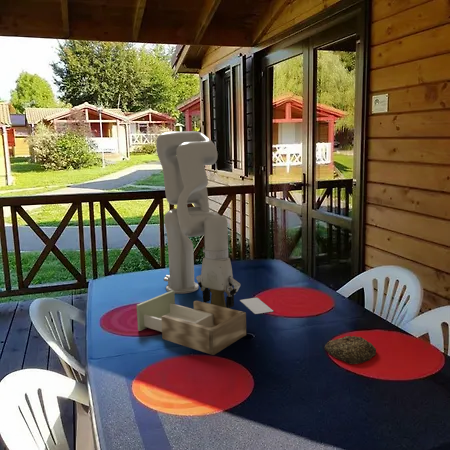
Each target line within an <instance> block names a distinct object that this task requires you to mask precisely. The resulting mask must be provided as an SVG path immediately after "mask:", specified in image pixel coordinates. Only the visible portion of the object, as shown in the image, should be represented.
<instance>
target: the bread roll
mask: <svg viewBox="0 0 450 450" xmlns="http://www.w3.org/2000/svg"><path fill="white" fill-rule="evenodd" d="M324 350H325V351H326V352H327V353H328V354H329V355H330V356H332V357H333V358H335V359H337V360H340V361H342V362H345V363H346V364H349V365H358V364H363V363H366V362H369V361H370V360H371V359H372V358H374V357H376V355H377V348H376V346H374V344H373V343H372V342H369V341H368V340H367V339H365V338H363V337H361V336H355V335H353V336H351V335H346V336H344V337H340V338H336V339H334V340H329V341H328V342H327V343H326V344H325V346H324Z"/></svg>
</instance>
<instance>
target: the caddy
mask: <svg viewBox="0 0 450 450" xmlns="http://www.w3.org/2000/svg"><path fill="white" fill-rule="evenodd" d="M193 309H196V310H200V311H204V312H207V313H211V314H213V316H214V326H212V327H206V326H202V325H199V324H195V323H192V322H188V321H184V320H181V319H177V318H174V317H170V316H167V315H164V316H161V319H162V332H161V334H162V335H161V337H162V339H163V340H165V341H166V342H167V341H168V342H171V343H174V344H177V345H179V346H180V345H181V346H183V347H186V348H189V349H193V350H196V351H199V352H202V353H206V354H208V355H212V356H215V355H217V354H218V353H220V352H221V351H223V350H224V349H226V348H228V347H230V346H231V345H232V344H234V343H235V342H237V341H239V340H240V339H242V338H244V337H246V336H247V312H245V311H242V310H237V309H232V308H227V307H226V308H225V307H221V306H217V305H213V304H210V303H209V302H206V303H205V302H203V301H200V300H194V301H193Z"/></svg>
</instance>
